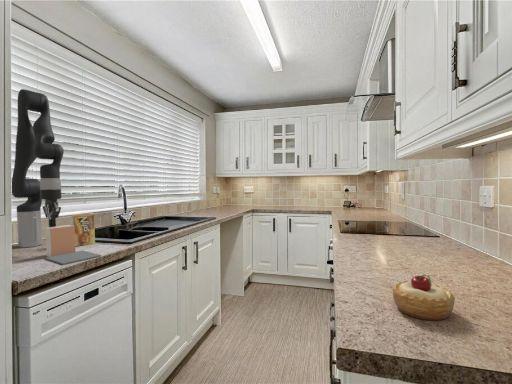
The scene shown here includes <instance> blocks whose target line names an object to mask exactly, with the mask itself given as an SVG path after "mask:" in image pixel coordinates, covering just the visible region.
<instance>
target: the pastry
mask: <svg viewBox="0 0 512 384" xmlns="http://www.w3.org/2000/svg"><path fill="white" fill-rule="evenodd" d="M430 277H431V276H430V275H429V274H427V273H425V274H422V275H415V276H413V277H412V278H411V279H410V281H407V280H405V281H403V282H402V281H400V282H398V283H396V284H395V285H393V287H392V297H393V302H394V303H395V305H396V306H397V308H398V310H399V311H401V313H403V314H405V315H407V316H410V317H413V318H416V319H419V320H425V321H443V320H445V319H447V318H448V317H449V316H450V315H451V314H452V312H453V310H454V307H455V302H456V301H455V299H456V298H455V296H454V295H453V293H451V291H450V290H449V289H446V288H445V287H443V286H439V285H438V284H432V280H431V278H430Z"/></svg>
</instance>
